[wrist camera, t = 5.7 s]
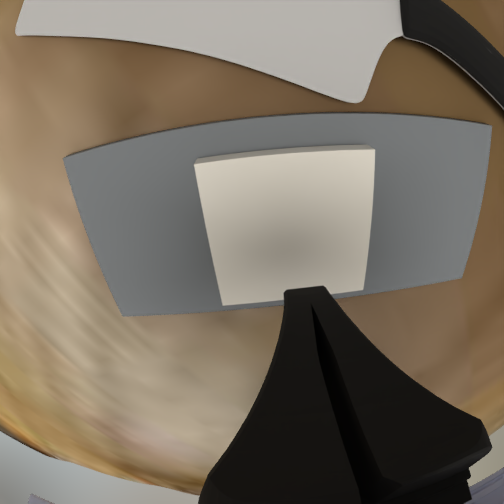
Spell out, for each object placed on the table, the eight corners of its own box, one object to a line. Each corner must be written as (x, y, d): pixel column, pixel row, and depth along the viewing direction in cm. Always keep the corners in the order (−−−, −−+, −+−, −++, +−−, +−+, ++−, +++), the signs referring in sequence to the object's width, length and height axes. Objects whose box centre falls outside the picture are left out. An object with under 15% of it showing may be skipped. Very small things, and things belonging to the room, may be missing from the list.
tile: (363, 289, 16) (222, 305, 17) (357, 277, 17) (223, 291, 18) (375, 149, 12) (193, 164, 12) (365, 143, 13) (197, 157, 13)
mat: (457, 273, 18) (461, 278, 18) (125, 310, 19) (122, 316, 19) (485, 123, 12) (491, 125, 12) (68, 155, 13) (62, 158, 13)
